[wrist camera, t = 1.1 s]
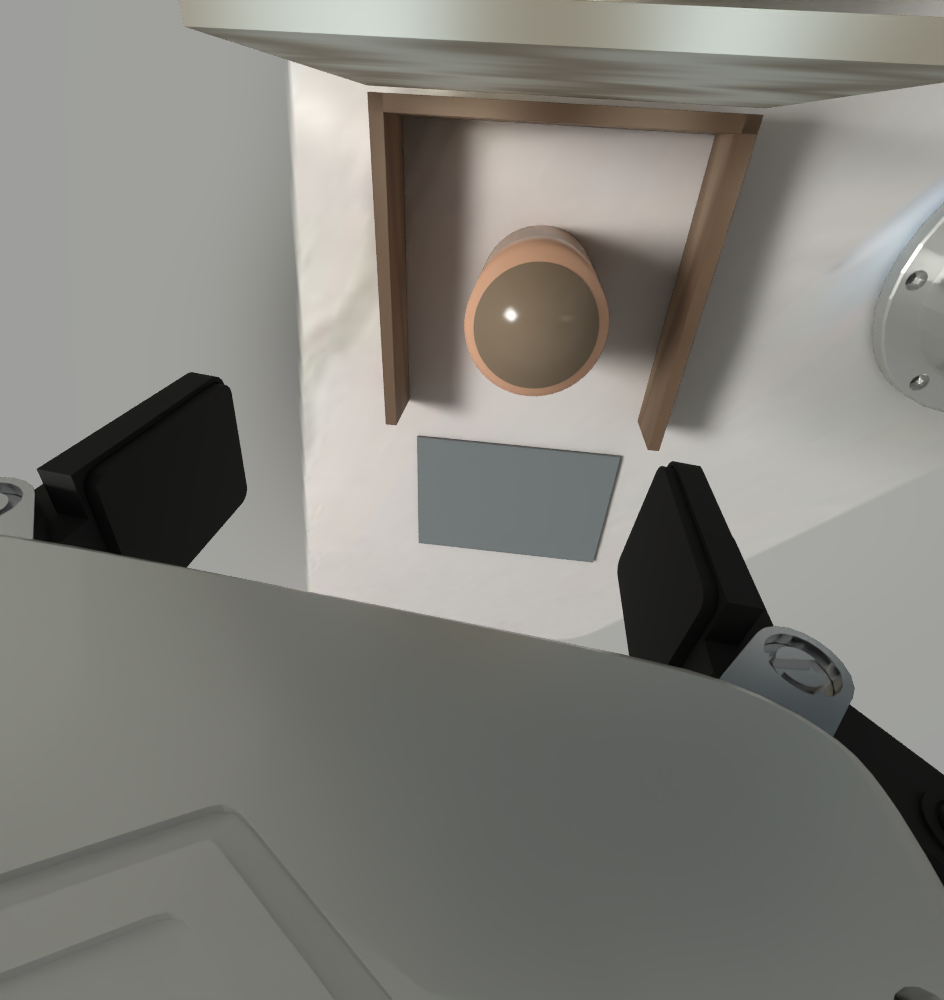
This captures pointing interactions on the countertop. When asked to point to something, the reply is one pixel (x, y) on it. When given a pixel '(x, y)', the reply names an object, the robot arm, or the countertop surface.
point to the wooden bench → (585, 74)
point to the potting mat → (513, 497)
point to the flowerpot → (536, 313)
